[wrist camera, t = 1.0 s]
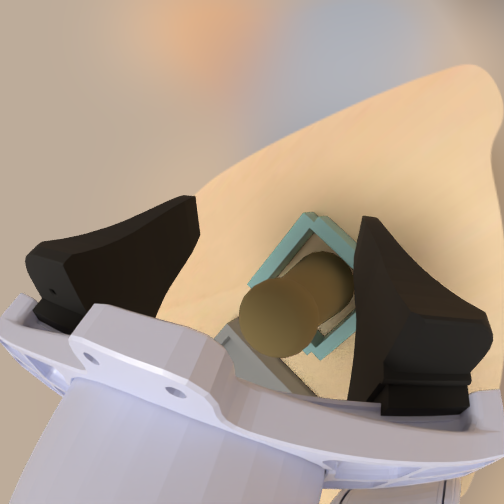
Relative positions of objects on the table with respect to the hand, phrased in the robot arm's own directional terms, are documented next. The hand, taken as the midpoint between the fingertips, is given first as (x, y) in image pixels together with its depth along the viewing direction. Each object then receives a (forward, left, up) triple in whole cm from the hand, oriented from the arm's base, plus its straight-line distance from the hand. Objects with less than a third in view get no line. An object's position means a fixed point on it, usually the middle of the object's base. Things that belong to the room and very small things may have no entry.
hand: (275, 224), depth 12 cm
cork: (-2, +6, -14) cm, 16 cm away
